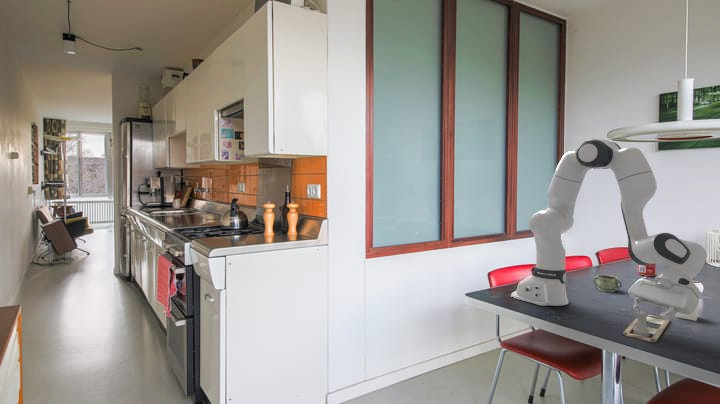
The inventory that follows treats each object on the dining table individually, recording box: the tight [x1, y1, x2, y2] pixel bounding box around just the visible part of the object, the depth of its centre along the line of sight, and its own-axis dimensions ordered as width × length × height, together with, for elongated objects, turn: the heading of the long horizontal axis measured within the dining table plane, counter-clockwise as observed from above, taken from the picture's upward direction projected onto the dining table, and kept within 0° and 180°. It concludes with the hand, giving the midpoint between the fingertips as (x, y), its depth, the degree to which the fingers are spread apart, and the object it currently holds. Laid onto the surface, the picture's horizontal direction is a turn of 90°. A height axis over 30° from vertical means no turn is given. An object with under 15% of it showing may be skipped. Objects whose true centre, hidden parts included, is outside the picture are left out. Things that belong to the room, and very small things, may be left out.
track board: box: [622, 314, 671, 343], centre depth 142 cm, size 9×28×1 cm, turn 135°
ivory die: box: [674, 303, 700, 322], centre depth 154 cm, size 6×6×6 cm
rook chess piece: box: [632, 309, 650, 338], centre depth 135 cm, size 4×4×8 cm
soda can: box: [637, 263, 657, 277], centre depth 221 cm, size 8×8×15 cm
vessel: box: [592, 274, 623, 293], centre depth 192 cm, size 12×9×6 cm
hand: (648, 314), depth 136 cm, fingers open, 8 cm apart
